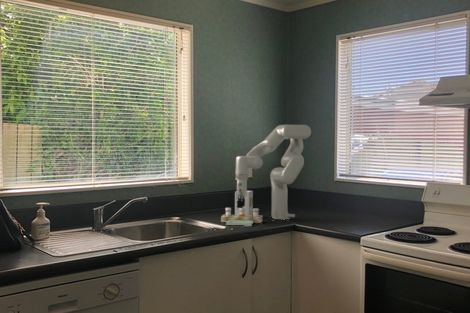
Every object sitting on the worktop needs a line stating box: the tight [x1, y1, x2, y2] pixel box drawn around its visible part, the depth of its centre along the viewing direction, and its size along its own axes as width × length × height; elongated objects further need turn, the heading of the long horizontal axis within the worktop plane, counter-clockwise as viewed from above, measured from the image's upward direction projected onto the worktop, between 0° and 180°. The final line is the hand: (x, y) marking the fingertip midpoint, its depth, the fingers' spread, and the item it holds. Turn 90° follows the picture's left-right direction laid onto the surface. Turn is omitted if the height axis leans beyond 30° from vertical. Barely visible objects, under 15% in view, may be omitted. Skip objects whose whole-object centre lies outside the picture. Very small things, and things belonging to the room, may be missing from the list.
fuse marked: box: [239, 208, 245, 217], centre depth 275 cm, size 3×3×8 cm
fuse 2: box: [253, 207, 260, 217], centre depth 273 cm, size 3×3×8 cm
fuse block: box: [220, 214, 264, 224], centre depth 275 cm, size 23×8×4 cm, turn 82°
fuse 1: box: [225, 207, 232, 216], centre depth 276 cm, size 3×3×8 cm
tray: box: [225, 220, 254, 227], centre depth 265 cm, size 14×9×2 cm, turn 82°
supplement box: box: [234, 190, 254, 215], centre depth 292 cm, size 10×9×17 cm
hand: (240, 206), depth 274 cm, fingers open, 9 cm apart
